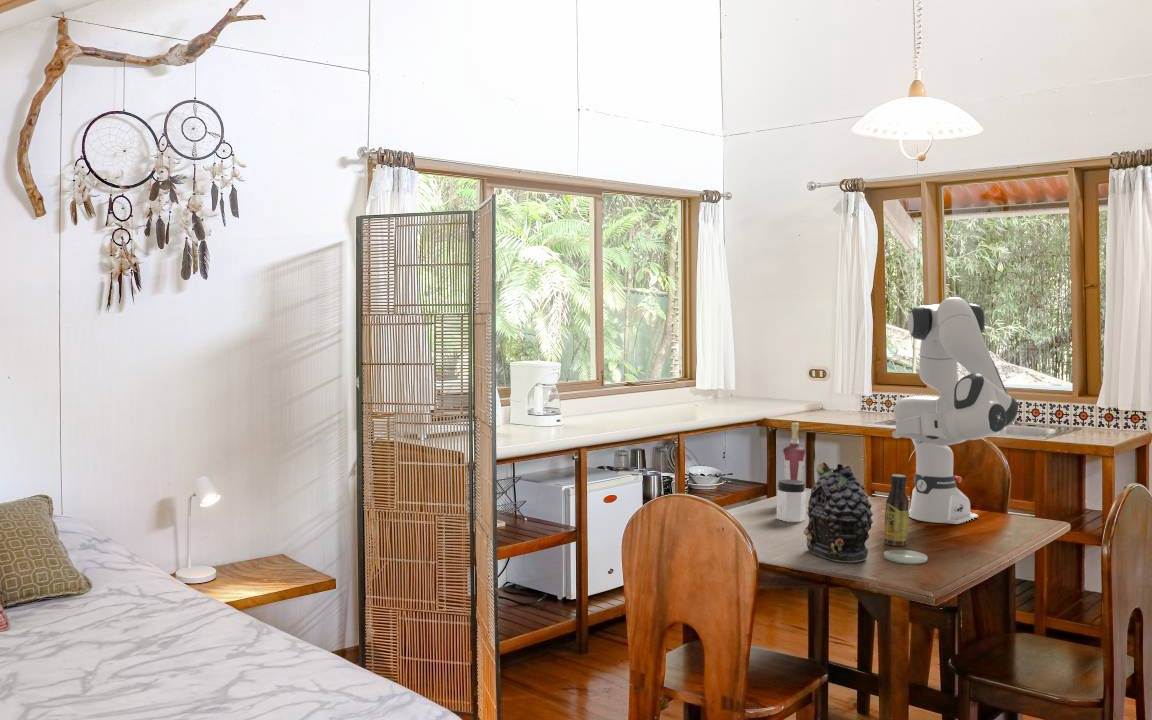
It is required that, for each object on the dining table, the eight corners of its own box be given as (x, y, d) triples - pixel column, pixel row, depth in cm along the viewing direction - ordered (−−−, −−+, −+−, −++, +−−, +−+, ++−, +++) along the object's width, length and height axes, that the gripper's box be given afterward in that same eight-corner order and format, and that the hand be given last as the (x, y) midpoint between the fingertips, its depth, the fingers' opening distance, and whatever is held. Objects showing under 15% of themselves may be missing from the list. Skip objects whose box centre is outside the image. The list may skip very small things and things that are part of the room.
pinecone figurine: (790, 549, 265) (792, 459, 263) (834, 544, 271) (836, 456, 269) (840, 568, 246) (843, 471, 244) (886, 562, 252) (889, 468, 250)
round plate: (903, 551, 263) (903, 547, 263) (936, 560, 254) (936, 557, 254) (875, 556, 258) (875, 552, 258) (908, 566, 248) (908, 562, 248)
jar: (771, 517, 304) (772, 480, 303) (791, 515, 308) (792, 478, 307) (790, 523, 296) (791, 485, 295) (810, 521, 300) (811, 483, 299)
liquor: (804, 508, 319) (806, 424, 318) (781, 506, 321) (784, 423, 319) (803, 503, 327) (805, 422, 325) (781, 502, 328) (783, 421, 327)
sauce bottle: (880, 541, 274) (882, 472, 273) (901, 541, 275) (904, 473, 274) (889, 547, 268) (891, 477, 267) (911, 547, 268) (913, 477, 267)
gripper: (970, 423, 264) (929, 432, 276) (921, 410, 254) (880, 420, 266) (972, 446, 262) (930, 454, 274) (922, 433, 252) (881, 443, 264)
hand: (905, 437), depth 270 cm, fingers open, 8 cm apart
